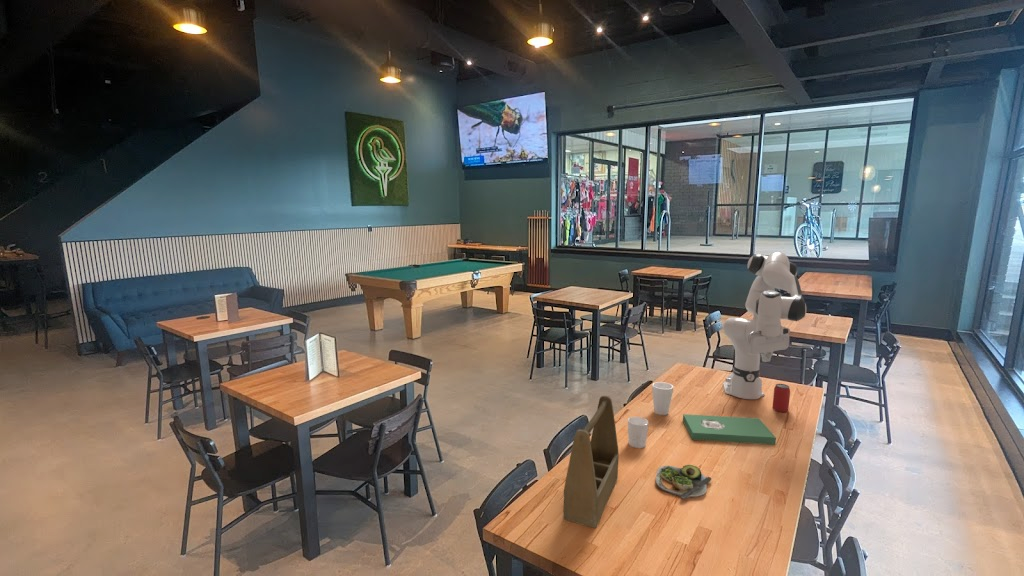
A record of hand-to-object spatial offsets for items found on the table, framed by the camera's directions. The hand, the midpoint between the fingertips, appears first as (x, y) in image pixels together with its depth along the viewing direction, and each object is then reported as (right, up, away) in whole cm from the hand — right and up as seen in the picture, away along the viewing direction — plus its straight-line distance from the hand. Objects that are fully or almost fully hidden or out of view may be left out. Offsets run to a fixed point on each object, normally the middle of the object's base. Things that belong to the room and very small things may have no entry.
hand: (765, 361), depth 201 cm
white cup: (-57, -32, -10) cm, 67 cm away
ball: (-22, -28, +1) cm, 35 cm away
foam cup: (-38, -27, +20) cm, 51 cm away
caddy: (-82, -38, -46) cm, 101 cm away
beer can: (+19, -27, +22) cm, 39 cm away
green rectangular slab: (-17, -30, 0) cm, 34 cm away
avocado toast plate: (-49, -37, -37) cm, 72 cm away
